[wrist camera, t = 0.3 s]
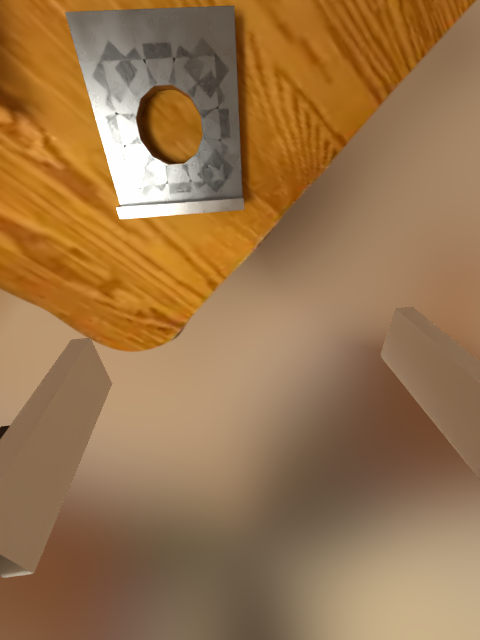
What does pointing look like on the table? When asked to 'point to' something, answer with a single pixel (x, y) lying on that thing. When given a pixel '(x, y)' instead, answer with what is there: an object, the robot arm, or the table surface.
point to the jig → (164, 74)
